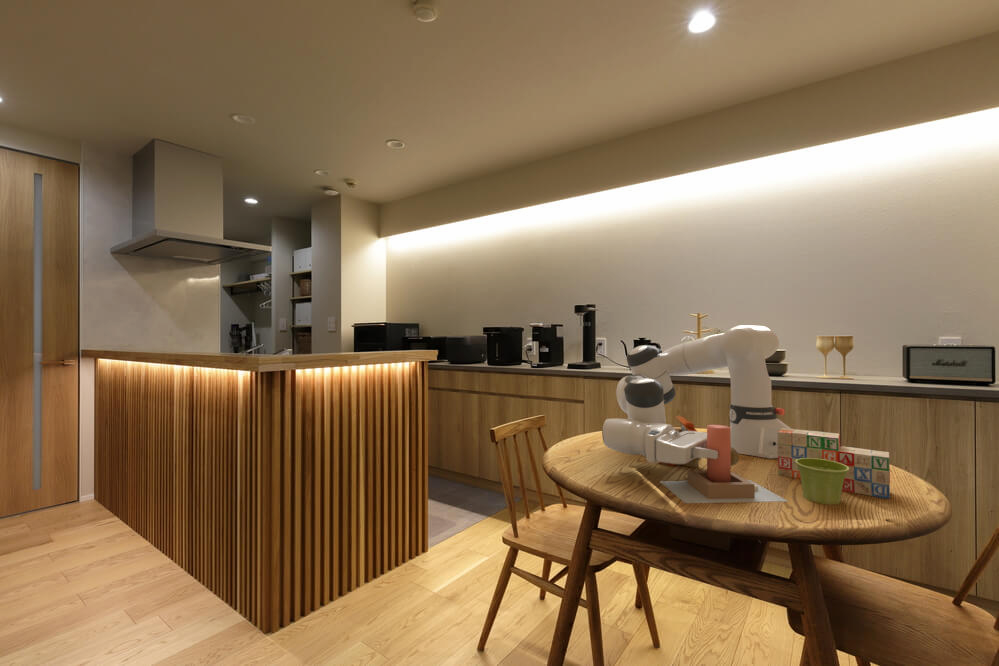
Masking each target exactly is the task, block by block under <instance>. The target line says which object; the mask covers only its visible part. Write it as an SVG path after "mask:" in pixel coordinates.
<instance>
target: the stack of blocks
mask: <svg viewBox="0 0 999 666" xmlns="http://www.w3.org/2000/svg"><path fill="white" fill-rule="evenodd" d="M777 447H778V448H777V449H778V458H777V467H778V468H777V470H778V471H777V475H778V476H783V477H790V478H795V479H800V480H801V476H800V471H799V469H798V465H797V464H796V462H795V460H796V459H800V458H817V459H825V460H830V461H835V462H838V463H841V464H844V465H846V466H848V467H849V471H848V472H847V473H846V477H845V478H844V482H843V487H842V491H843V492H846V493H847V492H848V493H854V494H860V495H865V496H871V497H876V498H882V499H887V498H888V500H890V498H891V497H890V495H891V492H890V490H891V489H890V487H891V486H890V485H891V484H890V483H891V469H890V468H891V467H890V452H888V451H881V450H873V449H867V448H859V447H850V446H841V435H840V433H837V432H825V431H818V430H817V431H816V430H806V429H805V430H804V429H797V428H796V429H795V428H791V429H789V428H781V429H780V430H779V431H778V444H777Z"/></svg>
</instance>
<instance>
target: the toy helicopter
mask: <svg viewBox="0 0 999 666" xmlns="http://www.w3.org/2000/svg"><path fill="white" fill-rule="evenodd" d="M675 419H677V420H678V421H679V422H680V423H681V426H680V427H679V428H678V427H674V429H675V431H678V432H679V433H680V432H683V431H696V432H698V430H697V429H695V424H694V423H693V422H691V421H688V420H687V419H686V418H685V417H684V416H680V415H677V416H675ZM701 459H702V458H695V459H693V460H691V461H690V462H688V463H686V464H680V465H681V466H682V465H683V466H686V467H689V468H690V467H691V468H694V469H695V468H698V467H699V461H700V460H701ZM739 459H740V456H739V453H737V451H736V450H735V449H734V448H732V447H731V467H732V466H735V465H736V464H738V463H739ZM658 463H660V464H663V465H668V466H671V467H672V466H676V465H677V464H671V463H664V462H658Z"/></svg>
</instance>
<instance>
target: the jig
mask: <svg viewBox="0 0 999 666" xmlns="http://www.w3.org/2000/svg"><path fill="white" fill-rule="evenodd" d="M659 482H660V483H661V484H662V485H663V486H664V487H665V488H667V489H668V490H669V491H670V492H671V493H672V494H674V495H675V497H677V498H678V499H679V500H680V501H682V502H683V503H684V504H711V503H713V504H716V503H717V504H718V503H719V504H720V503H723V504H724V503H725V504H726V503H764V502H765V503H768V502H769V503H771V502H772V503H773V502H778V503H780V502H781V503H782V502H788V500H787V499H785V498H783V497H782V496H780V495H778V494H777V493H774V492H772V491H771V490H769V489H767V488H765V487H763V486H762V485H760V484H758V483H756V482H755V481H753V480H750V479H746V478H743V477H742V476H740V475H739V474H737V473H735V472H734V471H732V470H731V482H719V483H714V482H711V481H709V480H707V470H688V471H687V480H666V481H665V480H661V481H659ZM755 485H757V486H758V491H755Z"/></svg>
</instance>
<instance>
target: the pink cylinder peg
mask: <svg viewBox="0 0 999 666" xmlns="http://www.w3.org/2000/svg"><path fill="white" fill-rule="evenodd" d="M706 433H707V449H717V450H719V457H718V458H717V459H713V458H706V471H707V480H709V481H711V482H714V483H719V482H731V471H732V470H731V469H732V466H731V428H730V426H728V425H722V424H707V426H706Z"/></svg>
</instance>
